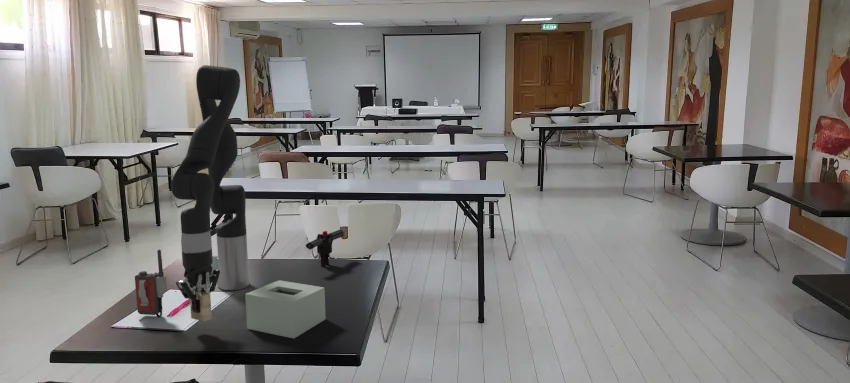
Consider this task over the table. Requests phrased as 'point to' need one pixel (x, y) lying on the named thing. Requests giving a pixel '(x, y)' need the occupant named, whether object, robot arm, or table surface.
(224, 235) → the robot arm
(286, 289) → the box
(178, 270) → the table surface
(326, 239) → the black tube on stand
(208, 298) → the light brown upright block
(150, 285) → the walkie-talkie
